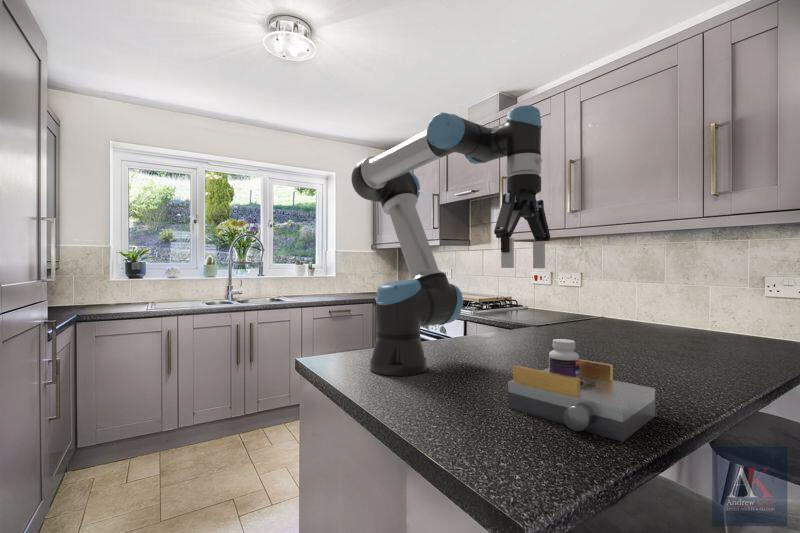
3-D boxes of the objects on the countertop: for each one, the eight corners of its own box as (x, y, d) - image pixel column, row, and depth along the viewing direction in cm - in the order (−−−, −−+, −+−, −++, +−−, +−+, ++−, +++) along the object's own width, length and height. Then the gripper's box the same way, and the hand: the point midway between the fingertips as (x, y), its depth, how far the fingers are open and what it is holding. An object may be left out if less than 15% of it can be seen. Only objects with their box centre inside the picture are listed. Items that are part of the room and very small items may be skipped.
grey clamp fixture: (499, 411, 72) (498, 368, 72) (549, 390, 85) (549, 353, 85) (615, 447, 57) (615, 393, 58) (655, 416, 70) (654, 371, 70)
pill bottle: (582, 396, 71) (582, 343, 72) (551, 394, 73) (551, 342, 73) (575, 388, 77) (575, 338, 77) (546, 386, 78) (546, 337, 78)
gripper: (507, 162, 79) (507, 267, 79) (564, 181, 96) (565, 268, 95) (477, 169, 85) (477, 267, 84) (536, 186, 101) (536, 268, 101)
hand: (524, 268), depth 90 cm, fingers open, 13 cm apart
